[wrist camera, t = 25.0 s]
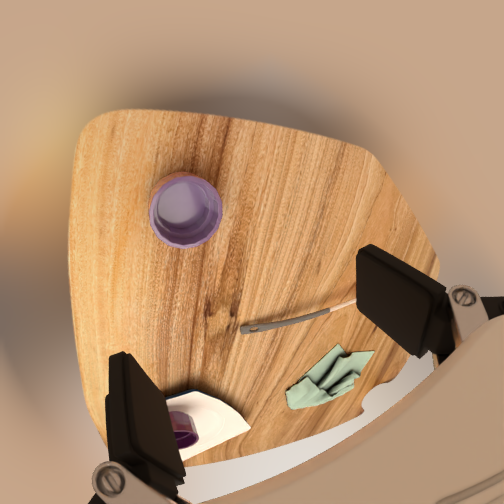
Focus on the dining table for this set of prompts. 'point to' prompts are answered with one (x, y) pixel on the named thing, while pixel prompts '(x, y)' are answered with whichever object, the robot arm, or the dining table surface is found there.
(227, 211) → the dining table surface
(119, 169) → the dining table surface
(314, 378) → the cloth
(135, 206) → the dining table surface
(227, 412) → the plate
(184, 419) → the plum bowl
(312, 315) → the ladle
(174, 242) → the lavender bowl
